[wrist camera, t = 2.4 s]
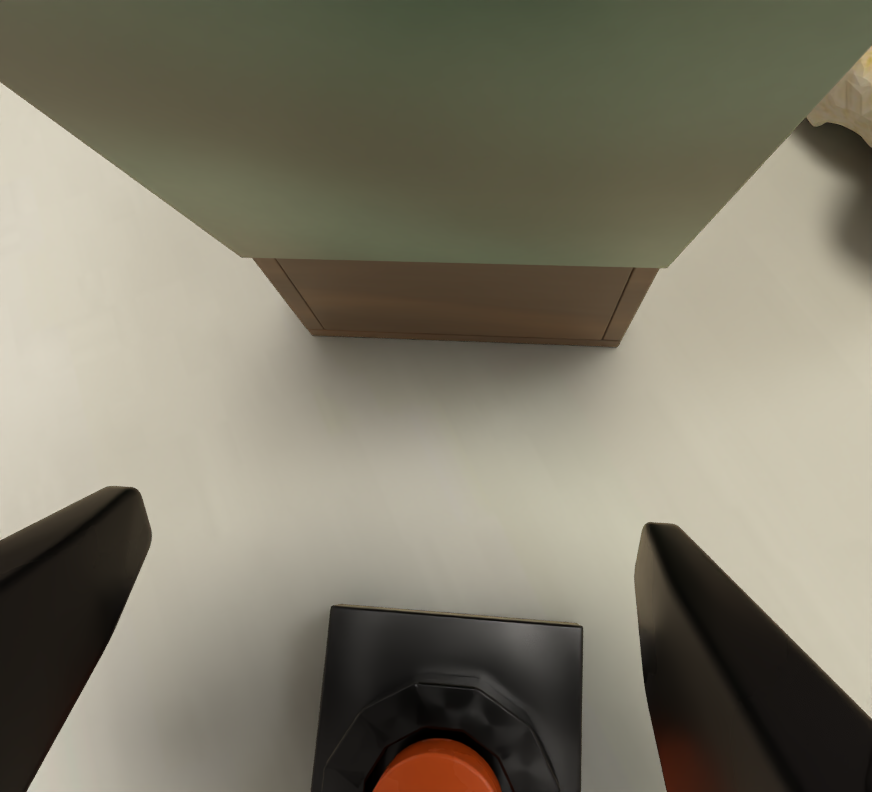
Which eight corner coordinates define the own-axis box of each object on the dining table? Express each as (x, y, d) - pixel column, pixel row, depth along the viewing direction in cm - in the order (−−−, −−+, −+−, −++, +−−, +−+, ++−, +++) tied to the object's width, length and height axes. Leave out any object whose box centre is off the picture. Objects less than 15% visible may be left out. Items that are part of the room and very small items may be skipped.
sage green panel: (-668, -518, 4) (-689, -416, 4) (1494, -777, 3) (1508, -636, 3) (242, 232, 18) (240, 257, 18) (668, 242, 17) (667, 268, 17)
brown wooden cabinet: (349, 44, 28) (305, -112, 22) (618, 42, 27) (656, -124, 21) (311, 336, 25) (246, 252, 18) (618, 347, 24) (663, 262, 17)
